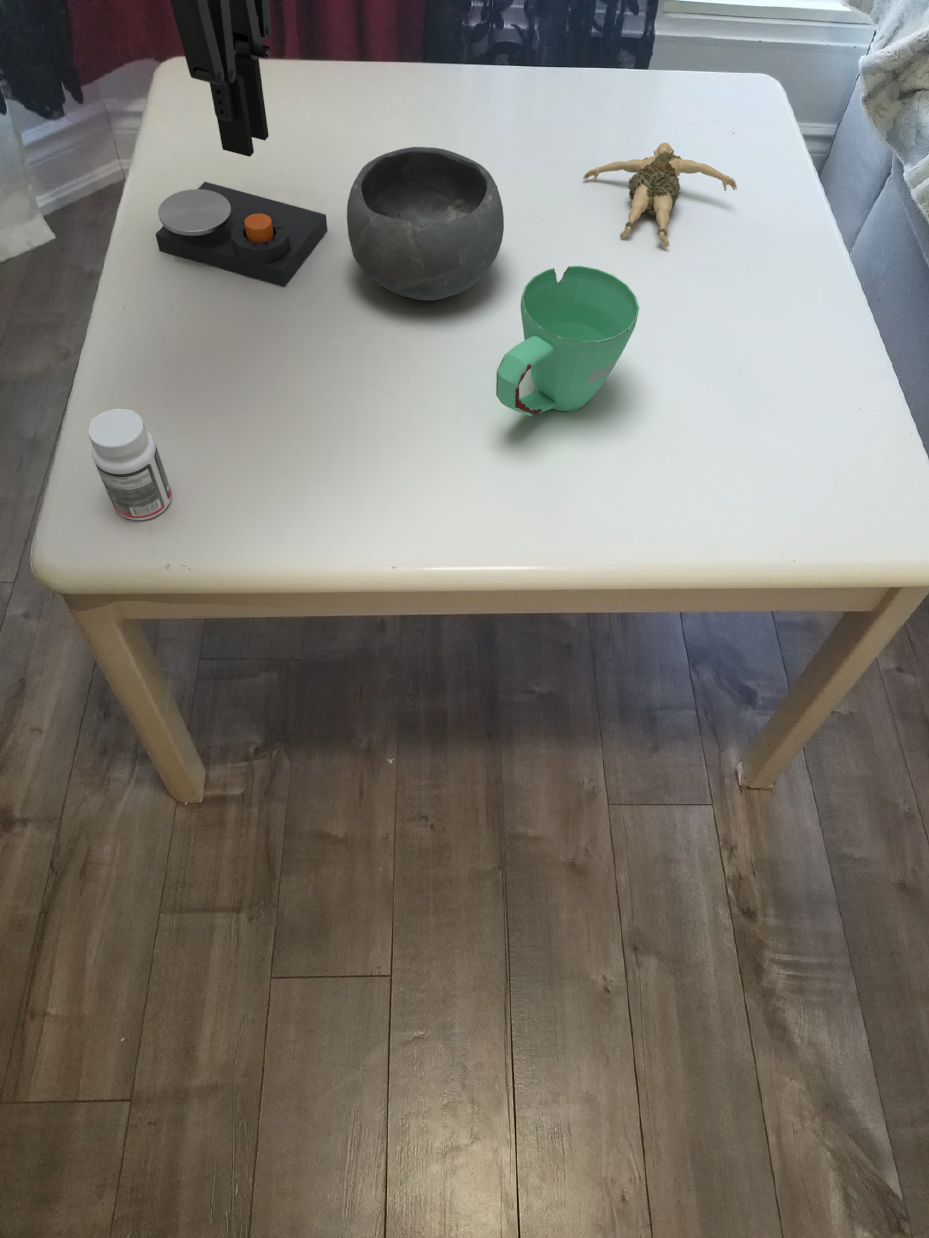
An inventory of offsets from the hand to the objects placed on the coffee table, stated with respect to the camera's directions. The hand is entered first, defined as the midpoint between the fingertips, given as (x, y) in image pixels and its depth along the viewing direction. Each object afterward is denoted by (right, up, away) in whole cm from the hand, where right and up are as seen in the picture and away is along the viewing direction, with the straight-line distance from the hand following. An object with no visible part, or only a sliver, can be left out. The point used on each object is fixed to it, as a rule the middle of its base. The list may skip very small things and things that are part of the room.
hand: (245, 142), depth 82 cm
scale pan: (-7, -3, +9) cm, 11 cm away
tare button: (0, -5, +8) cm, 9 cm away
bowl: (+16, -8, +11) cm, 21 cm away
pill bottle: (-7, -33, -7) cm, 34 cm away
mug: (+27, -23, +2) cm, 36 cm away
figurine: (+40, +2, +19) cm, 44 cm away
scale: (-3, -4, +12) cm, 13 cm away
